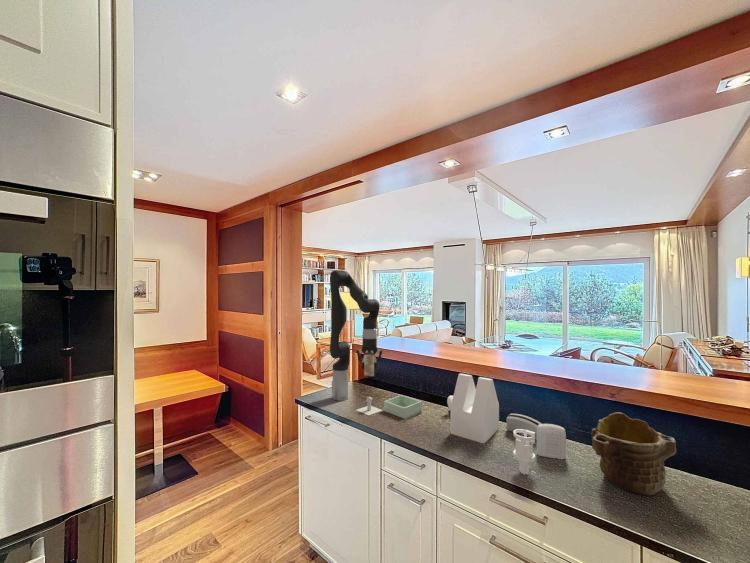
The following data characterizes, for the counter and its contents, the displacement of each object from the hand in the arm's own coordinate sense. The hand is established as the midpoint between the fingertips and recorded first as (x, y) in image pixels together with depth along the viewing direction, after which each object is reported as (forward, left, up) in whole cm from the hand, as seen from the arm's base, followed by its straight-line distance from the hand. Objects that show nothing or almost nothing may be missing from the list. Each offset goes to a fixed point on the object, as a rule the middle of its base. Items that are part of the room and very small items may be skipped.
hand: (369, 369), depth 173 cm
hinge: (+68, +32, -23) cm, 79 cm away
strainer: (+79, +2, -23) cm, 82 cm away
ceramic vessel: (+106, +20, -23) cm, 110 cm away
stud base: (0, 0, -22) cm, 22 cm away
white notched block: (+50, +20, -23) cm, 59 cm away
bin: (+13, +12, -22) cm, 29 cm away
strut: (0, 0, -3) cm, 3 cm away
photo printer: (+82, +21, -23) cm, 88 cm away
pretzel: (+33, +32, -23) cm, 51 cm away
